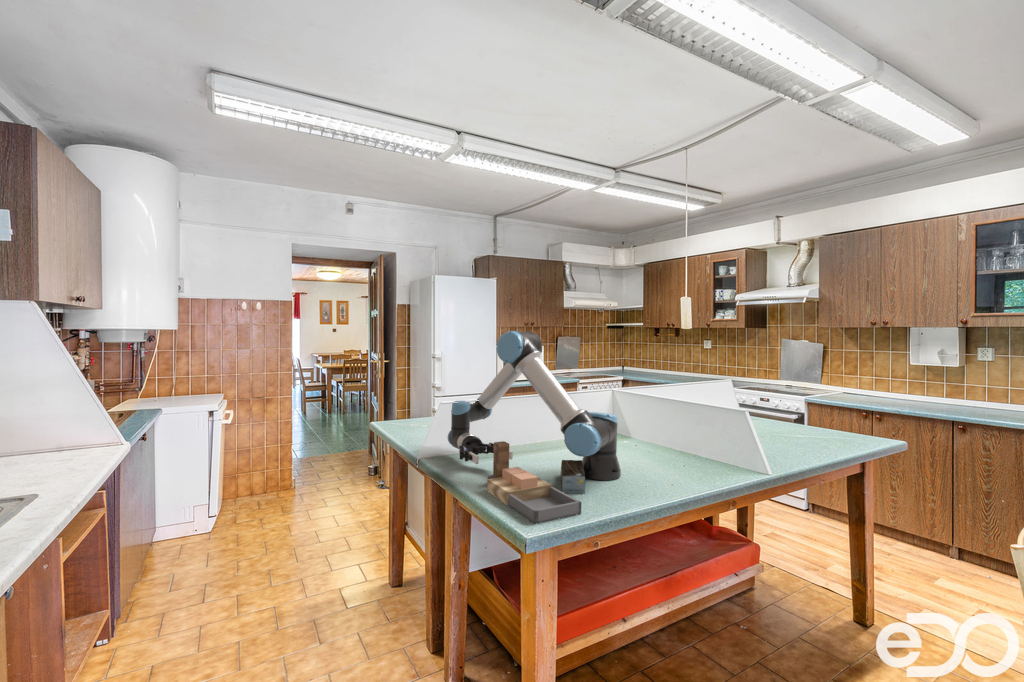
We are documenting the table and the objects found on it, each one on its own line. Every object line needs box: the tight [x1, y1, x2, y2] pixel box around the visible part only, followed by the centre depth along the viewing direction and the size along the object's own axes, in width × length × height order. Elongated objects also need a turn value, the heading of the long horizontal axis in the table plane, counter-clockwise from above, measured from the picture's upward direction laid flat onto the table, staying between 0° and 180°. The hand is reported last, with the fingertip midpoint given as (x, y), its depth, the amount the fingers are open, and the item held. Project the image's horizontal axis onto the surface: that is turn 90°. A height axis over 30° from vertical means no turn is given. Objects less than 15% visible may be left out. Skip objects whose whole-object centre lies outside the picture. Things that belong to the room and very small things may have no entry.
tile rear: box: [502, 466, 528, 483], centre depth 157 cm, size 6×6×3 cm
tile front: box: [512, 471, 539, 489], centre depth 151 cm, size 6×6×3 cm
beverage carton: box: [560, 459, 586, 494], centre depth 166 cm, size 8×19×7 cm, turn 174°
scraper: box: [487, 440, 510, 479], centre depth 165 cm, size 4×8×14 cm, turn 120°
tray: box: [507, 486, 582, 525], centre depth 141 cm, size 15×16×4 cm
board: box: [486, 477, 553, 506], centre depth 154 cm, size 14×16×4 cm
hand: (494, 458), depth 168 cm, fingers open, 13 cm apart
